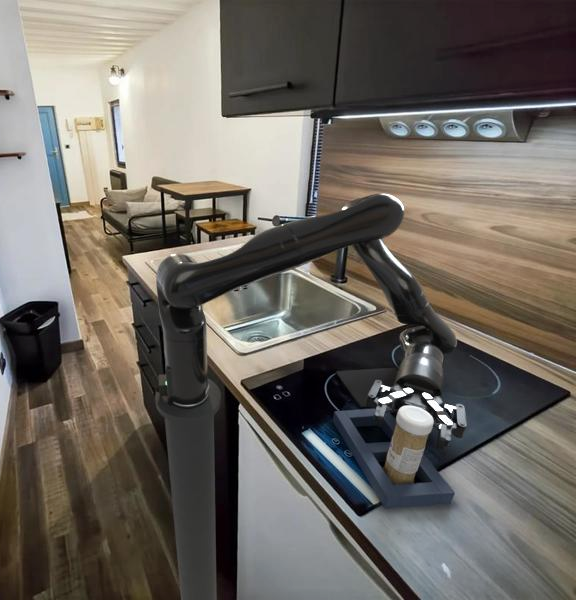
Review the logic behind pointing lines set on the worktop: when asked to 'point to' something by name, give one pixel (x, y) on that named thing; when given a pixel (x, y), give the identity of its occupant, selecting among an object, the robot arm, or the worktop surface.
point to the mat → (366, 382)
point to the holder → (370, 454)
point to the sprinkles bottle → (407, 444)
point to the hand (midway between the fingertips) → (409, 433)
